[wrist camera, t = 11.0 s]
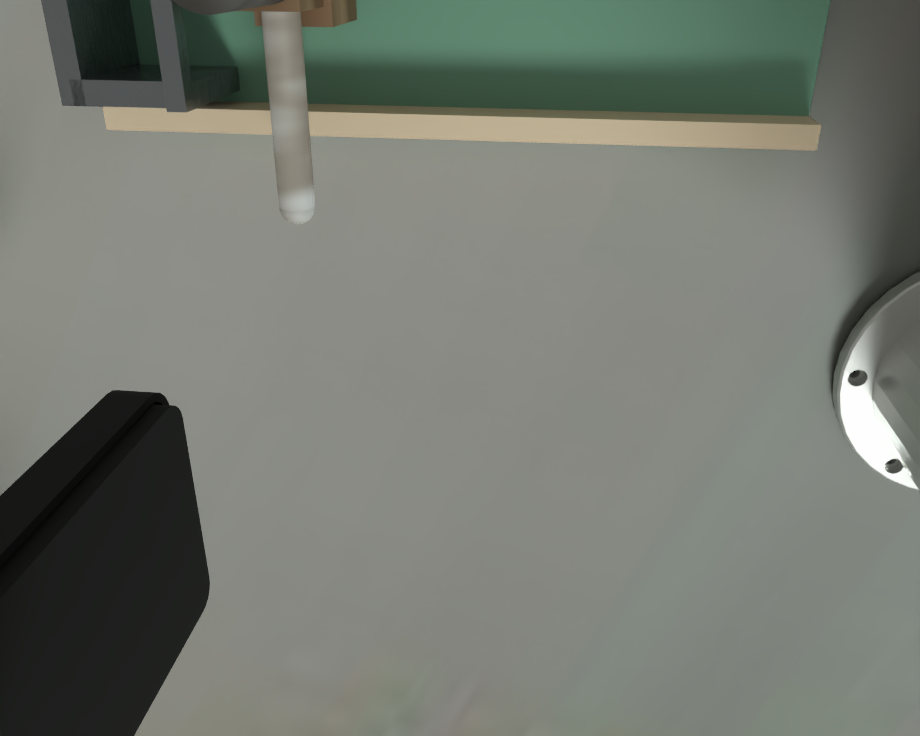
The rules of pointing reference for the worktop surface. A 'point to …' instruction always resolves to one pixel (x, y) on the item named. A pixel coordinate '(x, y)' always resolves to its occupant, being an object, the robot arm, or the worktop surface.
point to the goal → (128, 58)
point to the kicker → (287, 85)
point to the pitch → (523, 72)
